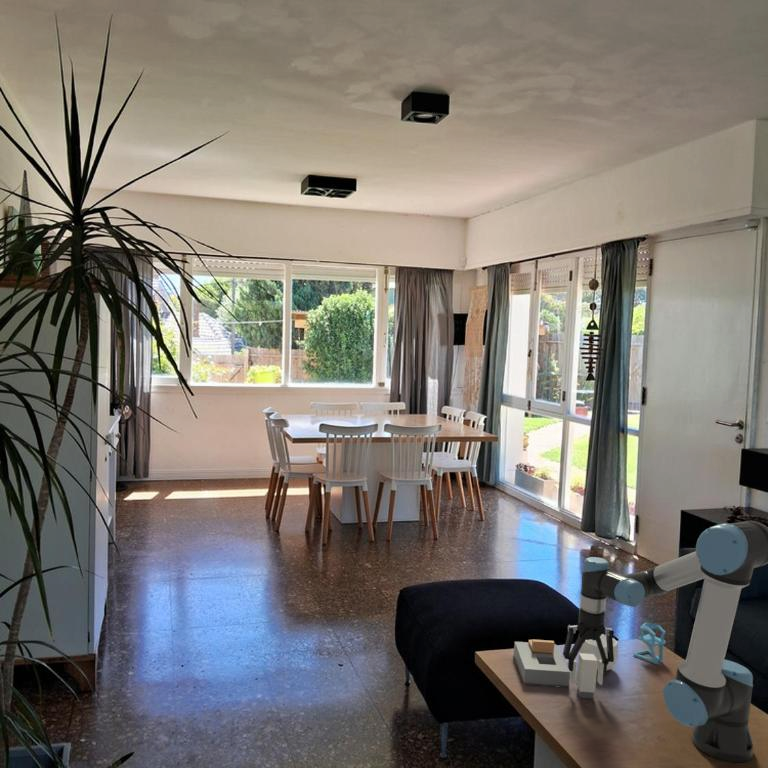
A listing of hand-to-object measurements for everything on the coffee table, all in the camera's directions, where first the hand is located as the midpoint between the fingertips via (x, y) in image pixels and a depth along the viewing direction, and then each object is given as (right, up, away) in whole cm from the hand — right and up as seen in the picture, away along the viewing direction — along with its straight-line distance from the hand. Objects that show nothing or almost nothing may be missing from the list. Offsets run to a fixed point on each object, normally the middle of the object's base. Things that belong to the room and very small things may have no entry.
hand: (586, 681), depth 222 cm
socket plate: (-11, -2, +14) cm, 18 cm away
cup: (+9, -4, +19) cm, 21 cm away
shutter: (-10, +3, +20) cm, 22 cm away
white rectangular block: (0, -4, 0) cm, 4 cm away
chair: (+30, -4, +29) cm, 42 cm away
